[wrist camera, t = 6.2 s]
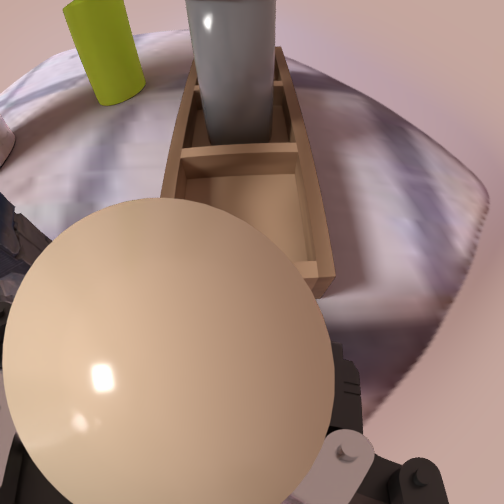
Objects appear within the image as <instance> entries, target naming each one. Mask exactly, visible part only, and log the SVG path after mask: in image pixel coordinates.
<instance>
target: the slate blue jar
mask: <svg viewBox="0 0 504 504" xmlns="http://www.w3.org/2000/svg"><path fill="white" fill-rule="evenodd" d="M185 2H186V8H187V15H188V22H189V28H190V35H191V41H192V47H193V54H194V60H195V66H196V72H197V78H198V84H199V89H200V95H201V101H202V107H203V112H204V118H205V124H206V129H207V135H208V140H209V142H210V144H211V145H212V146H217V145H233V144H254V143H269V141H270V140H271V137H272V123H273V94H274V61H275V19H276V17H275V16H276V15H275V14H276V0H185Z"/></svg>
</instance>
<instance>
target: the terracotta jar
mask: <svg viewBox="0 0 504 504" xmlns="http://www.w3.org/2000/svg"><path fill="white" fill-rule="evenodd" d="M2 367H3V380H4V388H5V393H6V398H7V403H8V407H9V410H10V413H11V417H12V420H13V423H14V425H15V428H16V430H17V432H18V434H19V437H20V439H21V441H22V443H23V445H24V447H25V448H26V450H27V452H28V453H29V455H30V457H31V458H32V460H33V462H34V463H35V464H36V466H37V467H38V468H39V470H40V471H41V472H42V474H43V475H44V476H45V477H46V479H47V480H48V481H49V482H50V483H51V484H52V485H53V486H54V487H55V488H56V489H57V490H58V491H59V492H60V493H61V494H62V495H63V496H64V497H66V498H67V499H68V500H69V501H70V502H72V503H73V504H281V503H282V502H283V501H284V500H285V499H286V498H287V497H288V496H289V495H290V494H291V493H292V492H293V491H294V490H295V489H296V488H297V486H298V485H299V484H300V483H301V481H302V480H303V479H304V477H305V476H306V475H307V473H308V472H309V471H310V469H311V467H312V465H313V463H314V461H315V459H316V458H317V456H318V454H319V452H320V450H321V448H322V445H323V442H324V439H325V436H326V433H327V430H328V427H329V424H330V420H331V414H332V408H333V401H334V384H335V375H334V361H333V354H332V348H331V341H330V338H329V334H328V331H327V328H326V324H325V321H324V318H323V315H322V313H321V311H320V308H319V306H318V304H317V302H316V300H315V297H314V295H313V293H312V291H311V290H310V288H309V286H308V285H307V283H306V282H305V280H304V279H303V277H302V275H301V274H300V272H299V271H298V269H297V268H296V267H295V266H294V265H293V263H292V262H291V261H290V260H289V259H288V258H287V256H286V255H285V254H284V253H283V252H282V251H281V250H280V249H279V248H278V247H277V246H276V245H275V244H274V243H273V242H272V241H270V240H269V239H268V238H267V237H266V236H265V235H264V234H262V233H261V232H259V231H258V230H256V229H255V228H254V227H252V226H251V225H249V224H248V223H246V222H245V221H243V220H241V219H239V218H237V217H235V216H233V215H231V214H229V213H227V212H225V211H223V210H220V209H217V208H215V207H212V206H209V205H206V204H202V203H198V202H193V201H189V200H184V199H173V198H145V199H138V200H132V201H126V202H122V203H119V204H116V205H112V206H109V207H106V208H104V209H101V210H99V211H97V212H94V213H92V214H90V215H88V216H87V217H85V218H83V219H81V220H80V221H78V222H76V223H75V224H73V225H72V226H70V227H69V228H68V229H66V230H65V231H64V232H62V233H61V234H60V235H59V236H58V237H57V238H56V239H55V240H53V241H52V242H51V243H50V244H49V245H48V246H47V247H46V248H45V250H44V251H43V252H42V253H41V254H40V256H39V257H38V258H37V259H36V260H35V262H34V263H33V265H32V266H31V268H30V269H29V271H28V272H27V274H26V275H25V277H24V279H23V281H22V283H21V285H20V287H19V289H18V291H17V293H16V295H15V298H14V301H13V303H12V306H11V309H10V312H9V316H8V320H7V324H6V328H5V335H4V342H3V360H2Z"/></svg>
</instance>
